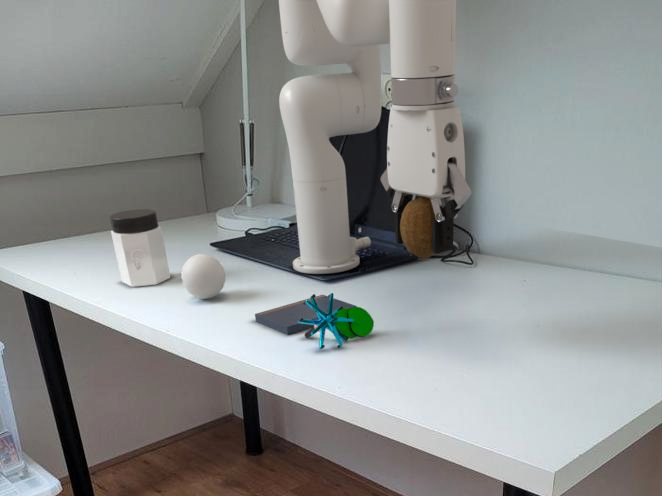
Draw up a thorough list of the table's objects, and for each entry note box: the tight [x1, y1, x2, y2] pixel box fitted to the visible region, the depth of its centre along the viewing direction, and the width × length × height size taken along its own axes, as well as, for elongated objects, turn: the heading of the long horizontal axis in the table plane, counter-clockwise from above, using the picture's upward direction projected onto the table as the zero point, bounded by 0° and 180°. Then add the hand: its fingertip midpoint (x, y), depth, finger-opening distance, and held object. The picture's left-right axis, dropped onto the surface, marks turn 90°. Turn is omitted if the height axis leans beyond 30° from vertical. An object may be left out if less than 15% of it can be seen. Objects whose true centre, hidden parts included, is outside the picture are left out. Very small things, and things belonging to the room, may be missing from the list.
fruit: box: [400, 196, 437, 260], centre depth 97 cm, size 6×6×8 cm
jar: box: [109, 208, 171, 288], centre depth 137 cm, size 9×8×12 cm
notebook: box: [254, 294, 358, 335], centre depth 116 cm, size 13×9×1 cm
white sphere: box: [171, 253, 226, 300], centre depth 127 cm, size 10×7×7 cm
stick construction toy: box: [298, 292, 375, 351], centre depth 106 cm, size 12×7×8 cm
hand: (424, 245), depth 99 cm, fingers closed on fruit, 6 cm apart
